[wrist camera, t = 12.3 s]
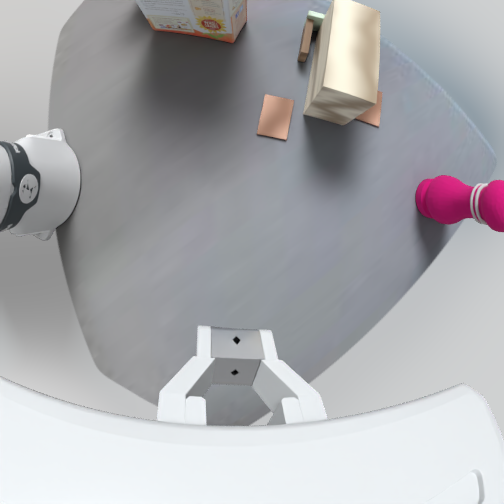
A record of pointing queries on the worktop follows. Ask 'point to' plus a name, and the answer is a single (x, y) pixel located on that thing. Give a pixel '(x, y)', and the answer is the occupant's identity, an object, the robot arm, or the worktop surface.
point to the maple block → (344, 63)
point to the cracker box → (197, 17)
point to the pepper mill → (462, 201)
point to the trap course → (280, 109)
